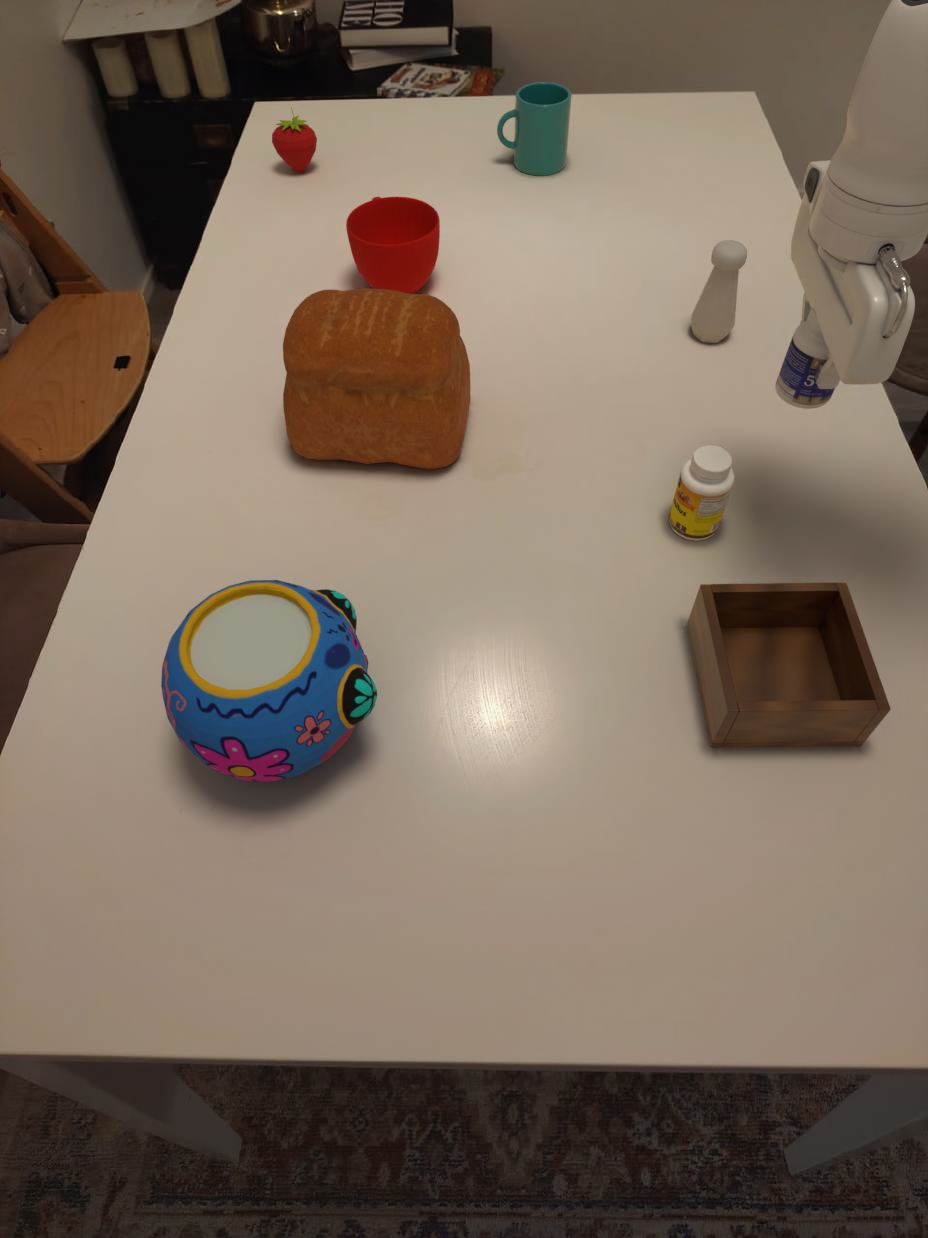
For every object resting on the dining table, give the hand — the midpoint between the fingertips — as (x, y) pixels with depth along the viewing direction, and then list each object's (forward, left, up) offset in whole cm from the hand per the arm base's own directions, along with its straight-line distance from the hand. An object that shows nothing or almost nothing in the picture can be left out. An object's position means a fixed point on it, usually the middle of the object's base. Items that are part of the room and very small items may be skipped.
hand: (815, 360), depth 77 cm
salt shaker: (-1, -34, -21) cm, 40 cm away
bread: (+43, -16, -21) cm, 51 cm away
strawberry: (+61, -82, -21) cm, 104 cm away
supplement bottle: (+7, +1, -21) cm, 23 cm away
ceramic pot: (+50, +26, -21) cm, 60 cm away
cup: (+21, -83, -21) cm, 88 cm away
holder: (+3, +22, -21) cm, 31 cm away
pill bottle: (0, 0, -4) cm, 4 cm away
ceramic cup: (+43, -49, -21) cm, 69 cm away
